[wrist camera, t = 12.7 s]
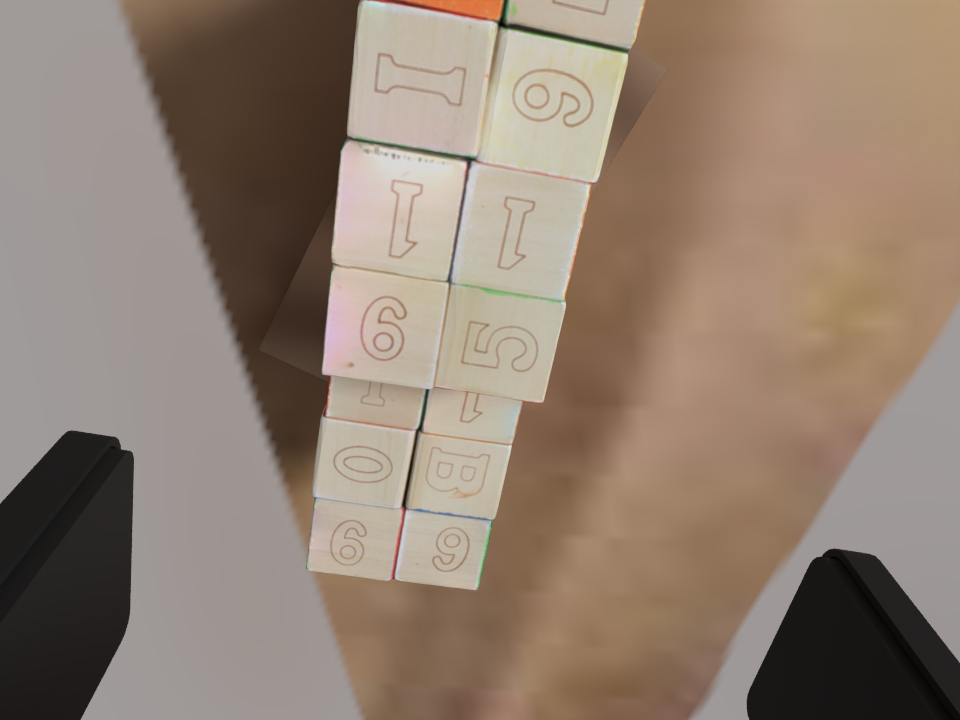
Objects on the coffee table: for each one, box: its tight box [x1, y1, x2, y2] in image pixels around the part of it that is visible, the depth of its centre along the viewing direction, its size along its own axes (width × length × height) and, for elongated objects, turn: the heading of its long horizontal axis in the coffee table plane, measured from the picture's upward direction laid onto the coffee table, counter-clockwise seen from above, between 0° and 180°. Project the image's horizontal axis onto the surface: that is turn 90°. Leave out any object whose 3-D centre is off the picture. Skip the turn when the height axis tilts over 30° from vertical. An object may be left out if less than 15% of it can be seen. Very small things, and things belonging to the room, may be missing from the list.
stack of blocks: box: [306, 0, 646, 590], centre depth 25 cm, size 21×6×12 cm, turn 169°
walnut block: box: [259, 45, 668, 383], centre depth 33 cm, size 18×9×5 cm, turn 151°
